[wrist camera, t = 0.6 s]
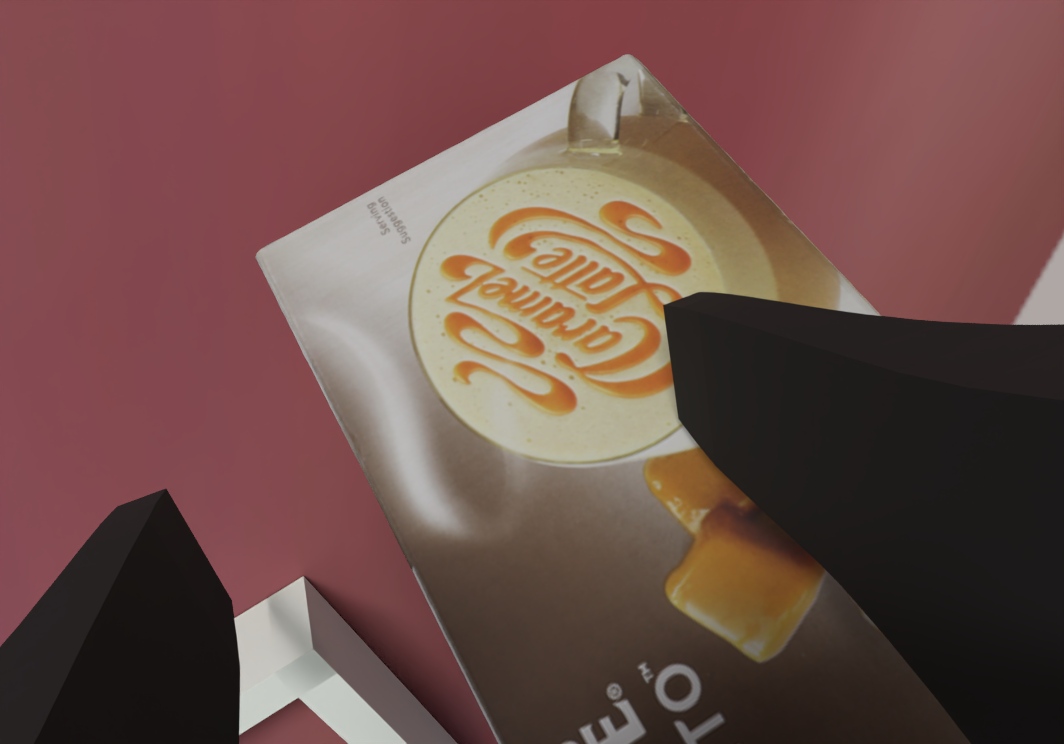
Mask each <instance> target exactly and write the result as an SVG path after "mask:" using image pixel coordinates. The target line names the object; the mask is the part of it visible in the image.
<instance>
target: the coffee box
mask: <svg viewBox="0 0 1064 744" xmlns="http://www.w3.org/2000/svg"><path fill="white" fill-rule="evenodd" d="M256 259H257V261H258V263H259V265H260V267H261V269H262V271H263V273H264V275H265V277H266V279H267V281H268V283H269V285H270V287H271V289H272V291H273V293H274V295H275V297H276V299H277V301H278V303H279V306H280V308H281V310H282V312H283V313H284V315H285V317H286V319H287V321H288V323H289V325H290V327H291V329H292V331H293V333H294V335H295V337H296V339H297V341H298V344H299V346H300V348H301V350H302V352H303V354H304V356H305V358H306V360H307V361H308V363H309V365H310V367H311V369H312V371H313V373H314V375H315V377H316V379H317V381H318V383H319V385H320V387H321V389H322V391H323V393H324V395H325V397H326V399H327V401H328V403H329V405H330V407H331V409H332V411H333V413H334V415H335V417H336V419H337V421H338V423H339V425H340V427H341V429H342V431H343V432H344V434H345V436H346V438H347V440H348V442H349V444H350V446H351V449H352V451H353V452H354V454H355V456H356V458H357V460H358V462H359V464H360V465H361V467H362V469H363V471H364V474H365V476H366V478H367V480H368V482H369V484H370V486H371V488H372V490H373V492H374V494H375V496H376V498H377V500H378V502H379V504H380V506H381V508H382V510H383V512H384V514H385V516H386V519H387V521H388V523H389V525H390V527H391V529H392V531H393V533H394V535H395V537H396V539H397V541H398V543H399V545H400V547H401V549H402V551H403V553H404V555H405V557H406V559H407V561H408V563H409V565H410V567H411V569H412V571H413V573H414V575H415V577H416V579H417V581H418V583H419V585H420V587H421V589H422V591H423V593H424V596H425V598H426V600H427V602H428V604H429V606H430V608H431V610H432V612H433V614H434V616H435V618H436V620H437V622H438V624H439V626H440V628H441V630H442V632H443V634H444V636H445V638H446V640H447V642H448V644H449V646H450V648H451V650H452V652H453V654H454V656H455V658H456V660H457V662H458V664H459V666H460V668H461V670H462V672H463V674H464V676H465V678H466V680H467V682H468V684H469V686H470V688H471V690H472V692H473V694H474V696H475V698H476V700H477V702H478V704H479V706H480V708H481V710H482V712H483V714H484V716H485V718H486V720H487V722H488V724H489V726H490V728H491V730H492V732H493V734H494V736H495V738H496V740H497V742H498V744H971V743H970V742H969V740H968V739H967V738H966V737H965V735H964V734H963V733H962V731H961V730H960V729H959V728H958V726H957V725H956V724H955V722H954V721H953V720H952V718H951V717H950V716H949V715H948V713H947V712H946V711H945V709H944V708H943V707H942V705H941V704H940V703H939V702H938V700H937V699H936V698H935V697H934V695H933V694H932V693H931V692H930V690H929V689H928V688H927V687H926V686H925V684H924V683H923V682H922V681H921V679H920V678H919V677H918V676H917V675H916V673H915V672H914V671H913V670H912V668H911V667H910V666H909V665H908V664H907V662H906V661H905V660H904V659H903V657H902V656H901V655H900V654H899V653H898V651H897V650H896V649H895V648H894V647H893V645H892V644H891V643H890V642H889V640H888V639H887V638H886V637H885V636H884V635H883V633H882V632H881V631H880V630H879V629H878V628H877V626H876V625H875V624H874V623H873V622H872V621H871V620H870V618H869V617H868V616H867V615H866V614H865V613H864V611H863V610H862V609H861V608H860V607H859V606H858V605H857V603H856V602H855V601H854V600H853V599H852V598H851V596H850V595H849V594H848V593H847V592H846V591H845V590H844V588H843V587H842V586H841V585H840V584H839V583H838V582H837V581H836V580H835V579H834V578H833V577H832V576H831V575H830V574H829V573H828V572H827V571H826V570H825V569H824V568H823V567H822V566H821V565H820V564H819V563H818V562H817V561H816V560H815V559H814V558H813V557H812V556H811V555H810V554H809V553H808V552H806V551H805V550H804V549H803V548H802V547H801V546H800V545H799V544H798V543H797V542H796V541H795V540H794V539H793V538H791V537H790V536H789V535H788V534H787V533H786V532H785V531H784V530H783V529H782V528H781V527H780V526H779V525H777V524H776V523H775V522H774V521H773V520H772V519H771V518H770V517H769V516H768V515H767V514H766V513H765V512H764V511H762V510H761V509H760V508H759V507H758V506H757V505H756V504H755V503H754V502H753V501H752V500H751V499H750V498H749V497H747V496H746V495H745V494H744V493H743V492H742V491H741V490H740V489H739V488H738V487H737V486H736V485H735V484H734V483H733V482H732V481H731V480H730V479H729V478H727V477H726V476H725V475H724V474H723V473H722V472H721V471H720V470H719V469H718V468H717V467H716V466H715V465H714V463H713V462H712V461H711V460H710V459H709V457H708V456H707V455H706V454H705V452H704V451H703V450H702V449H701V448H700V446H699V445H698V444H697V443H696V441H695V440H694V439H693V437H692V436H691V435H690V433H689V432H688V431H687V429H686V428H685V427H684V426H683V424H682V423H681V422H680V420H679V419H678V412H677V405H676V397H675V390H674V382H673V375H672V368H671V360H670V353H669V346H668V338H667V331H666V324H665V316H664V309H663V305H665V304H668V303H670V302H673V301H676V300H678V299H681V298H684V297H687V296H689V295H692V294H695V293H697V292H716V293H726V294H734V295H742V296H749V297H755V298H762V299H768V300H774V301H780V302H787V303H793V304H799V305H805V306H812V307H818V308H825V309H831V310H838V311H845V312H853V313H860V314H868V315H877V316H881V315H880V314H879V313H878V312H877V311H876V310H875V309H874V307H873V306H872V305H871V304H870V303H869V302H868V301H867V300H866V299H865V298H864V297H863V296H862V295H861V294H860V293H859V292H858V291H857V290H856V289H855V288H854V286H853V285H852V284H851V283H850V282H849V281H848V280H847V279H846V278H845V277H844V276H843V275H842V274H841V273H840V272H839V271H838V270H837V268H836V267H835V266H834V265H833V264H832V263H831V262H830V261H829V260H828V259H827V258H826V257H825V256H824V255H823V254H822V253H821V252H820V251H819V250H818V249H817V247H816V246H815V245H814V244H813V243H812V242H811V241H810V240H809V239H808V238H807V237H806V236H805V235H804V234H803V233H802V232H801V230H800V229H799V228H798V227H797V226H796V225H795V224H794V223H793V222H792V221H791V220H790V219H789V218H788V217H787V216H786V215H785V214H784V212H783V211H782V210H781V209H780V208H779V207H778V206H777V205H776V204H775V203H774V202H773V201H772V200H771V199H770V198H769V197H768V196H767V195H766V194H765V193H764V192H763V191H762V190H761V189H760V188H759V186H758V185H757V184H756V183H755V182H754V181H753V180H752V179H751V178H750V177H749V176H748V175H747V174H746V173H745V171H744V170H743V169H742V168H741V167H739V166H738V165H737V164H736V163H735V161H734V160H733V159H732V158H731V157H730V156H729V155H728V154H727V153H726V152H725V151H724V150H723V149H722V148H721V147H720V146H719V145H718V144H717V143H716V142H715V141H714V140H713V139H712V138H711V136H710V135H709V134H708V133H707V132H706V131H705V130H704V129H703V128H702V127H701V126H700V125H699V124H698V123H697V122H696V121H695V120H694V119H693V118H692V117H691V116H690V115H689V114H688V112H687V111H686V110H685V109H684V108H683V107H682V106H681V105H680V104H679V103H678V101H677V100H676V99H675V98H674V97H673V96H672V95H671V94H670V93H669V92H668V91H667V90H666V89H665V88H664V87H663V85H662V84H661V83H660V82H659V81H658V80H657V79H656V78H655V77H654V76H653V75H652V74H651V73H650V72H649V70H648V69H647V68H646V67H645V66H644V65H643V64H642V63H641V62H640V61H639V60H638V59H636V58H635V57H633V56H632V55H630V54H628V55H623V56H622V57H620V58H618V59H617V60H615V61H613V62H610V63H608V64H606V65H604V66H602V67H601V68H599V69H597V70H595V71H593V72H591V73H589V74H588V75H586V76H584V77H582V78H580V79H578V80H576V81H575V82H573V83H571V84H569V85H567V86H565V87H564V88H562V89H560V90H558V91H556V92H554V93H552V94H551V95H549V96H547V97H545V98H543V99H541V100H539V101H538V102H536V103H534V104H532V105H530V106H528V107H526V108H525V109H523V110H521V111H519V112H517V113H515V114H513V115H511V116H509V117H508V118H506V119H504V120H502V121H500V122H498V123H496V124H494V125H492V126H490V127H488V128H486V129H485V130H483V131H481V132H479V133H477V134H476V135H474V136H472V137H470V138H468V139H467V140H465V141H463V142H461V143H459V144H457V145H455V146H453V147H451V148H449V149H447V150H445V151H443V152H441V153H440V154H438V155H436V156H434V157H432V158H430V159H428V160H426V161H425V162H423V163H421V164H419V165H417V166H416V167H414V168H412V169H410V170H408V171H406V172H404V173H402V174H400V175H398V176H396V177H395V178H393V179H391V180H389V181H387V182H385V183H383V184H381V185H379V186H378V187H376V188H374V189H372V190H370V191H368V192H366V193H365V194H363V195H361V196H359V197H357V198H355V199H353V200H352V201H350V202H348V203H346V204H344V205H342V206H340V207H339V208H337V209H335V210H333V211H331V212H329V213H327V214H326V215H324V216H322V217H320V218H318V219H316V220H314V221H313V222H311V223H309V224H307V225H305V226H303V227H301V228H300V229H298V230H296V231H294V232H292V233H290V234H288V235H286V236H284V237H282V238H280V239H278V240H276V241H274V242H272V243H270V244H268V245H267V246H265V247H264V248H262V249H261V250H259V251H258V252H257V255H256Z"/></svg>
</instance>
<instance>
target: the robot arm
mask: <svg viewBox="0 0 1064 744" xmlns="http://www.w3.org/2000/svg"><path fill="white" fill-rule="evenodd" d="M663 309H664V316H665V324H666V331H667V338H668V346H669V353H670V360H671V368H672V375H673V382H674V390H675V397H676V405H677V412H678V419H679V420H680V422H681V423H682V424H683V426H684V427H685V428H686V429H687V431H688V432H689V433H690V435H691V436H692V437H693V439H694V440H695V441H696V443H697V444H698V445H699V446H700V448H701V449H702V450H703V451H704V452H705V454H706V455H707V456H708V457H709V459H710V460H711V461H712V462H713V463H714V465H715V466H716V467H717V468H718V469H719V470H720V471H721V472H722V473H723V474H724V475H725V476H726V477H727V478H729V479H730V480H731V481H732V482H733V483H734V484H735V485H736V486H737V487H738V488H739V489H740V490H741V491H742V492H743V493H744V494H745V495H746V496H747V497H749V498H750V499H751V500H752V501H753V502H754V503H755V504H756V505H757V506H758V507H759V508H760V509H761V510H762V511H764V512H765V513H766V514H767V515H768V516H769V517H770V518H771V519H772V520H773V521H774V522H775V523H776V524H777V525H779V526H780V527H781V528H782V529H783V530H784V531H785V532H786V533H787V534H788V535H789V536H790V537H791V538H793V539H794V540H795V541H796V542H797V543H798V544H799V545H800V546H801V547H802V548H803V549H804V550H805V551H806V552H808V553H809V554H810V555H811V556H812V557H813V558H814V559H815V560H816V561H817V562H818V563H819V564H820V565H821V566H822V567H823V568H824V569H825V570H826V571H827V572H828V573H829V574H830V575H831V576H832V577H833V578H834V579H835V580H836V581H837V582H838V583H839V584H840V585H841V586H842V587H843V588H844V590H845V591H846V592H847V593H848V594H849V595H850V596H851V598H852V599H853V600H854V601H855V602H856V603H857V605H858V606H859V607H860V608H861V609H862V610H863V611H864V613H865V614H866V615H867V616H868V617H869V618H870V620H871V621H872V622H873V623H874V624H875V625H876V626H877V628H878V629H879V630H880V631H881V632H882V633H883V635H884V636H885V637H886V638H887V639H888V640H889V642H890V643H891V644H892V645H893V647H894V648H895V649H896V650H897V651H898V653H899V654H900V655H901V656H902V657H903V659H904V660H905V661H906V662H907V664H908V665H909V666H910V667H911V668H912V670H913V671H914V672H915V673H916V675H917V676H918V677H919V678H920V679H921V681H922V682H923V683H924V684H925V686H926V687H927V688H928V689H929V690H930V692H931V693H932V694H933V695H934V697H935V698H936V699H937V700H938V702H939V703H940V704H941V705H942V707H943V708H944V709H945V711H946V712H947V713H948V715H949V716H950V717H951V718H952V720H953V721H954V722H955V724H956V725H957V726H958V728H959V729H960V730H961V731H962V733H963V734H964V735H965V737H966V738H967V739H968V740H969V742H970V743H971V744H1064V325H999V324H977V323H955V322H938V321H925V320H913V319H904V318H895V317H886V316H877V315H868V314H860V313H853V312H845V311H838V310H831V309H825V308H818V307H812V306H805V305H799V304H793V303H787V302H780V301H774V300H768V299H762V298H755V297H749V296H742V295H734V294H726V293H716V292H697V293H695V294H692V295H689V296H687V297H684V298H681V299H678V300H676V301H673V302H670V303H668V304H665V305H663ZM239 718H240V661H239V652H238V643H237V635H236V628H235V620H234V613H233V606H232V600H231V598H230V597H229V595H228V593H227V592H226V590H225V588H224V586H223V585H222V583H221V581H220V580H219V578H218V576H217V574H216V573H215V571H214V569H213V568H212V566H211V564H210V563H209V561H208V559H207V557H206V556H205V554H204V552H203V551H202V549H201V547H200V545H199V544H198V542H197V540H196V539H195V537H194V535H193V533H192V532H191V530H190V528H189V527H188V525H187V523H186V522H185V520H184V518H183V516H182V515H181V513H180V511H179V510H178V508H177V506H176V504H175V503H174V501H173V499H172V498H171V496H170V494H169V493H168V491H167V489H164V490H161V491H158V492H156V493H153V494H150V495H147V496H145V497H142V498H139V499H137V500H134V501H131V502H128V503H126V504H123V505H120V506H118V507H116V508H115V509H114V510H113V511H112V512H111V513H110V514H109V516H108V517H107V518H106V519H105V520H104V521H103V522H102V523H101V524H100V526H99V527H98V528H97V529H96V530H95V532H94V533H93V534H92V535H91V536H90V538H89V539H88V540H87V541H86V543H85V544H84V545H83V546H82V548H81V549H80V550H79V551H78V553H77V554H76V555H75V556H74V558H73V559H72V560H71V561H70V563H69V564H68V565H67V566H66V568H65V569H64V570H63V571H62V573H61V574H60V575H59V576H58V578H57V579H56V580H55V581H54V583H53V584H52V585H51V586H50V588H49V589H48V590H47V591H46V593H45V594H44V595H43V596H42V598H41V599H40V600H39V601H38V602H37V604H36V605H35V606H34V607H33V609H32V610H31V611H30V612H29V614H28V615H27V616H26V617H25V619H24V620H23V621H22V622H21V623H20V625H19V626H18V627H17V628H16V629H15V631H14V632H13V633H12V634H11V635H10V636H9V637H8V639H7V640H6V641H5V642H4V643H3V644H2V646H1V647H0V744H239Z"/></svg>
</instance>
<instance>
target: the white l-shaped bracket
mask: <svg viewBox="0 0 1064 744" xmlns="http://www.w3.org/2000/svg"><path fill="white" fill-rule="evenodd" d="M234 620H235V628H236V635H237V643H238V652H239V661H240V718H239V735H240V734H241V733H243V732H245V731H246V730H248V729H249V728H251V727H253V726H254V725H256V724H257V723H259V722H260V721H262V720H264V719H265V718H267V717H268V716H270V715H272V714H273V713H275V712H276V711H278V710H279V709H281V708H283V707H284V706H286V705H287V704H289V703H291V702H292V701H294V700H295V699H297V698H300V699H301V700H302V701H303V702H304V703H305V704H306V705H307V706H308V707H309V708H310V709H311V710H313V711H314V712H315V713H316V714H317V715H318V716H319V717H320V718H321V719H322V720H323V721H324V722H325V723H327V724H328V725H329V726H330V727H331V728H332V729H333V730H334V731H335V732H336V733H337V734H338V735H340V736H341V737H342V738H343V739H344V740H345V741H346V742H347V743H348V744H457V742H456V741H455V740H454V739H453V738H452V737H451V736H450V735H449V734H448V733H447V732H446V730H445V729H444V728H443V727H442V726H441V725H440V724H439V723H438V722H437V721H436V720H435V719H434V717H433V716H432V715H431V714H430V713H429V712H428V711H427V710H426V709H425V708H424V707H423V705H422V704H421V703H420V702H419V701H418V700H417V699H416V698H415V697H414V696H413V695H412V694H411V692H410V691H409V690H408V689H407V688H406V687H405V686H404V685H403V684H402V683H401V682H400V680H399V679H398V678H397V677H396V676H395V675H394V674H393V673H392V672H391V671H390V670H389V669H388V667H387V666H386V665H385V664H384V663H383V662H382V661H381V660H380V659H379V658H378V657H377V655H376V654H375V653H374V652H373V651H372V650H371V649H370V648H369V647H368V646H367V645H366V643H365V642H364V641H363V640H362V639H361V638H360V637H359V636H358V635H357V634H356V633H355V632H354V630H353V629H352V628H351V627H350V626H349V625H348V624H347V623H346V622H345V621H344V620H343V618H342V617H341V616H340V615H339V614H338V613H337V612H336V611H335V610H334V609H333V608H332V607H331V605H330V604H329V603H328V602H327V601H326V600H325V599H324V598H323V597H322V596H321V595H320V593H319V592H318V591H317V590H316V589H315V588H314V587H313V586H312V585H311V584H310V583H309V581H308V580H307V579H306V578H305V577H304V576H303V577H301V578H300V579H298V580H296V581H295V582H293V583H291V584H290V585H288V586H287V587H285V588H283V589H282V590H280V591H278V592H277V593H275V594H273V595H272V596H270V597H269V598H267V599H265V600H264V601H262V602H260V603H259V604H257V605H256V606H254V607H252V608H251V609H249V610H247V611H246V612H244V613H243V614H241V615H239V616H238V617H236V618H234Z"/></svg>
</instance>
